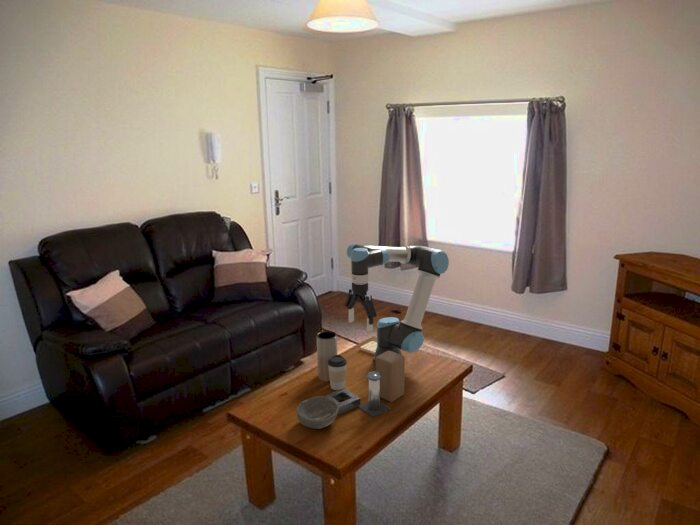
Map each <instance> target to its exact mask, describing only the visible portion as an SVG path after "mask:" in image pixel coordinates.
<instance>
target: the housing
mask: <svg viewBox="0 0 700 525" xmlns="http://www.w3.org/2000/svg"><path fill="white" fill-rule="evenodd" d="M323 397H326V398H329V399H332V400H333V401H335V402H336V403H337V404H338V405H339V411H338V414H337V415H341V414H345V412H348V411H350V410H353V409H355V408H357V407H358V408H359V406H361V405H362V404H361V402H362V401H361V397H359V396H358V395H356V394H355V393H354V392H351V390H348V389H347V388H346V387H345V388H342V389H340V390H335V391H332V392H331V393H327V394H325V395H323ZM341 400H344V401H341ZM340 401H341V402H340Z"/></svg>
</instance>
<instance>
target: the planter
mask: <svg viewBox="0 0 700 525" xmlns="http://www.w3.org/2000/svg"><path fill="white" fill-rule="evenodd" d="M336 355H338V334H337V332H334V331H332V330H324V331H322V330H321V331H319V332H318V333H317V334H316V357H317V359H316V360H317V361H316V362H317V379H318V380H320V381H323V382H330V379H329V369H328V367H329V366H328V360H329V359H330V358H331V357H333V356H336Z"/></svg>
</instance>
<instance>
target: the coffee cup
mask: <svg viewBox="0 0 700 525" xmlns="http://www.w3.org/2000/svg"><path fill="white" fill-rule="evenodd" d="M347 364H348V362H347V360H346V358H344V356H342V355H341V354H337V355H336V356H333V357H331V358H330V359H329V360H328V366H329V367H328V369H329V379H330V381H329V382H330V388H331V389H332V390H335V391H337V390H340V389H342V388H346V378H347Z"/></svg>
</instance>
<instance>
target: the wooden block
mask: <svg viewBox="0 0 700 525" xmlns="http://www.w3.org/2000/svg"><path fill="white" fill-rule="evenodd" d="M405 360H406V358H405V356H404V355H403V354H402V355H400V354H398V353H395V352H392V351H386V352H384V353H382V354H380V355H379V356H377V357H376V362H375V371H377V372H380V373H381V379H380V398H382V399H384V400H385V401H388V402H390V403H393V402H395V401H397V400H398V399H400V398H401V397H402V396H404V394H405V377H406V376H405V371H406V370H405V366H406V365H405V364H406V363H405V362H406V361H405Z"/></svg>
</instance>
